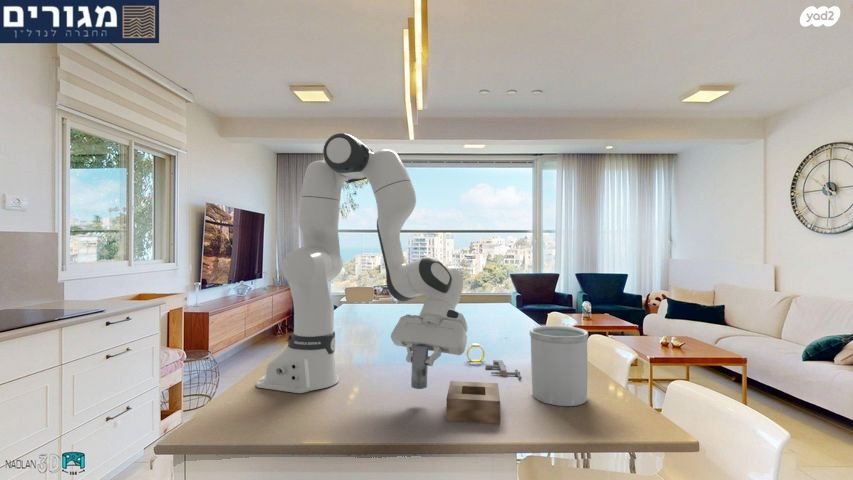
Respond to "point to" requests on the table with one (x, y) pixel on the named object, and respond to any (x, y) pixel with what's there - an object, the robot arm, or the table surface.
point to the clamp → (502, 369)
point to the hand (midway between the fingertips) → (418, 363)
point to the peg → (419, 366)
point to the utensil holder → (559, 364)
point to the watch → (475, 346)
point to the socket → (473, 402)
